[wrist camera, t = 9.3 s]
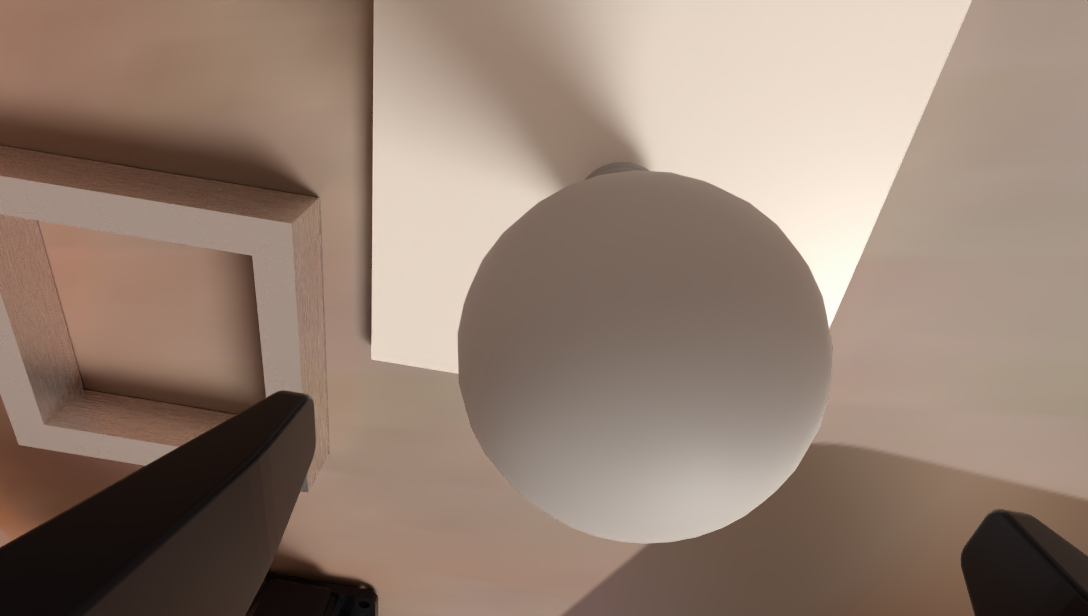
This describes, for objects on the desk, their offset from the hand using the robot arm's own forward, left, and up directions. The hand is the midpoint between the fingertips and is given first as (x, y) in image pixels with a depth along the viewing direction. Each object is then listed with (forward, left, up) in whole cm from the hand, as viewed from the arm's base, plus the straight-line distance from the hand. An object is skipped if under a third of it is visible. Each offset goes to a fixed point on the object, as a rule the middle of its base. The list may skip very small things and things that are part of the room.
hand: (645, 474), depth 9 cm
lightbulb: (0, 0, -11) cm, 11 cm away
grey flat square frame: (-7, +14, -12) cm, 20 cm away
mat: (0, 0, -12) cm, 12 cm away
